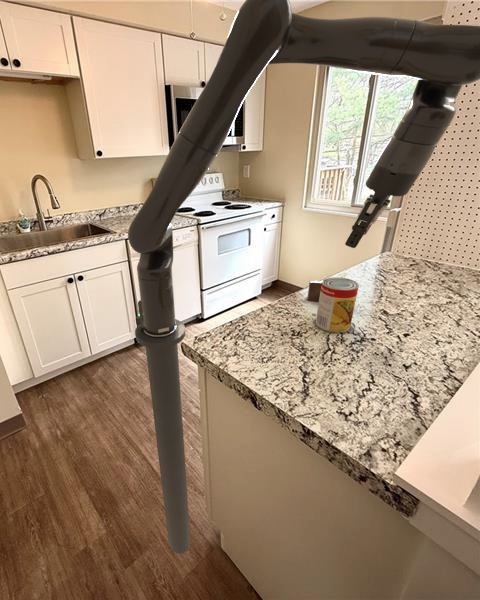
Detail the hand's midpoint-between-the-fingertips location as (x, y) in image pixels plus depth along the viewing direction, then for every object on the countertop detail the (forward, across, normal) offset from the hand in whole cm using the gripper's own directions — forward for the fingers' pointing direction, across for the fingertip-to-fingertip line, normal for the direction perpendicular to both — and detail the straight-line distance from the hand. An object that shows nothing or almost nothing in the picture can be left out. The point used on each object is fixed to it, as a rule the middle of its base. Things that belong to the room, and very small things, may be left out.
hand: (355, 239), depth 70 cm
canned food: (+23, +1, +6) cm, 24 cm away
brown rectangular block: (+26, -13, +1) cm, 29 cm away
